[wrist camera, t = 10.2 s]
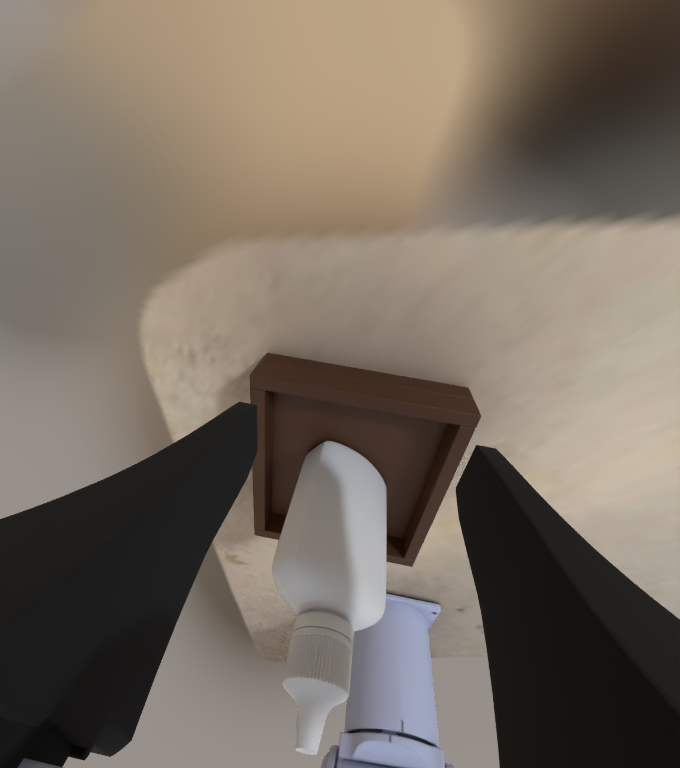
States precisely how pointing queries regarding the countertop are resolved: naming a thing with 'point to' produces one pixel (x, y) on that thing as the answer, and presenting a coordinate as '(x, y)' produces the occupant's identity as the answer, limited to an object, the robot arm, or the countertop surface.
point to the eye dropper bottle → (330, 578)
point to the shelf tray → (359, 439)
